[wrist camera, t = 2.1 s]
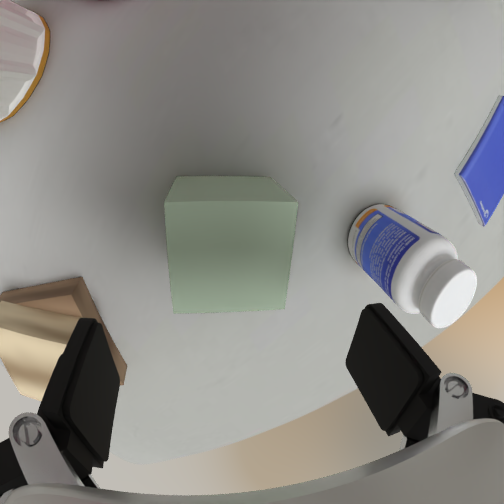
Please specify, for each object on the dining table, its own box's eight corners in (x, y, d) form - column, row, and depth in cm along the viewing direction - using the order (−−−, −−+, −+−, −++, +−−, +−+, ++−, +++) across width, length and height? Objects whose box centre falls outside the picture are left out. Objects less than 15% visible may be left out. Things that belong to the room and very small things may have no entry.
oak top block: (1, 300, 16) (-15, 322, 13) (91, 318, 18) (79, 347, 15) (30, 372, 20) (20, 394, 17) (108, 390, 22) (103, 416, 19)
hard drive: (485, 227, 22) (526, 151, 19) (462, 176, 19) (505, 95, 16) (476, 222, 24) (516, 148, 20) (450, 172, 20) (495, 94, 17)
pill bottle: (348, 272, 22) (413, 353, 14) (342, 211, 20) (426, 279, 11) (401, 253, 23) (473, 317, 14) (400, 195, 20) (491, 247, 12)
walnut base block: (5, 288, 19) (-9, 307, 16) (84, 273, 19) (71, 294, 17) (51, 365, 23) (43, 385, 20) (128, 361, 24) (123, 385, 21)
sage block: (176, 176, 17) (164, 202, 12) (270, 176, 18) (298, 202, 13) (180, 260, 20) (173, 313, 14) (263, 259, 21) (284, 309, 15)
